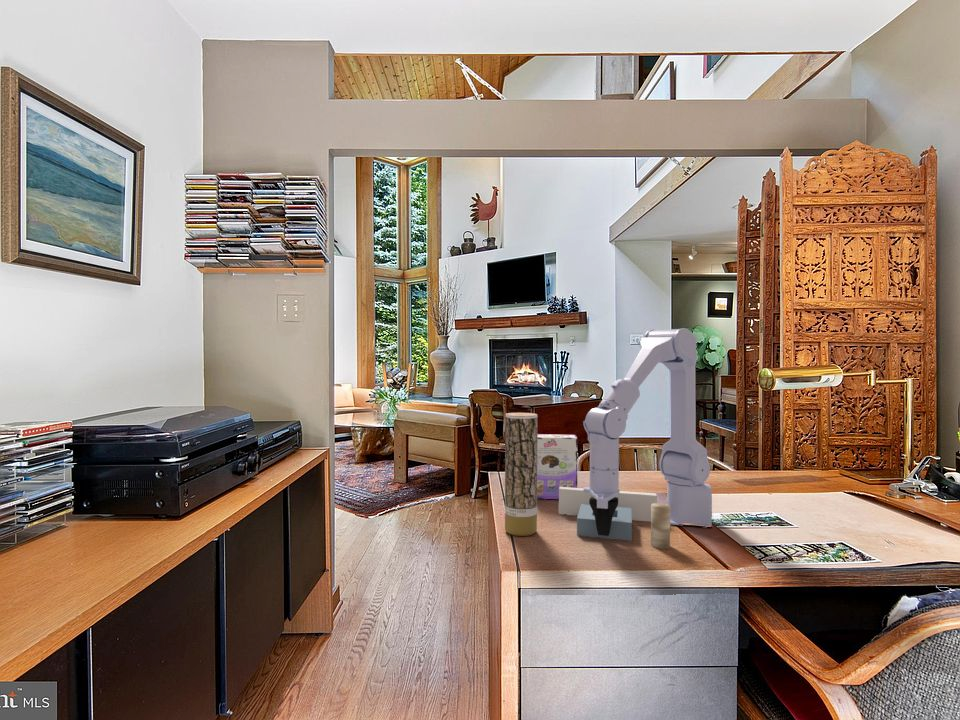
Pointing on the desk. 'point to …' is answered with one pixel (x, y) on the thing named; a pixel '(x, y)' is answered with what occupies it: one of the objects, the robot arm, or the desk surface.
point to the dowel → (660, 525)
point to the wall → (635, 500)
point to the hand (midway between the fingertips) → (603, 534)
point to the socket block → (619, 525)
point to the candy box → (555, 464)
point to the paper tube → (521, 473)
